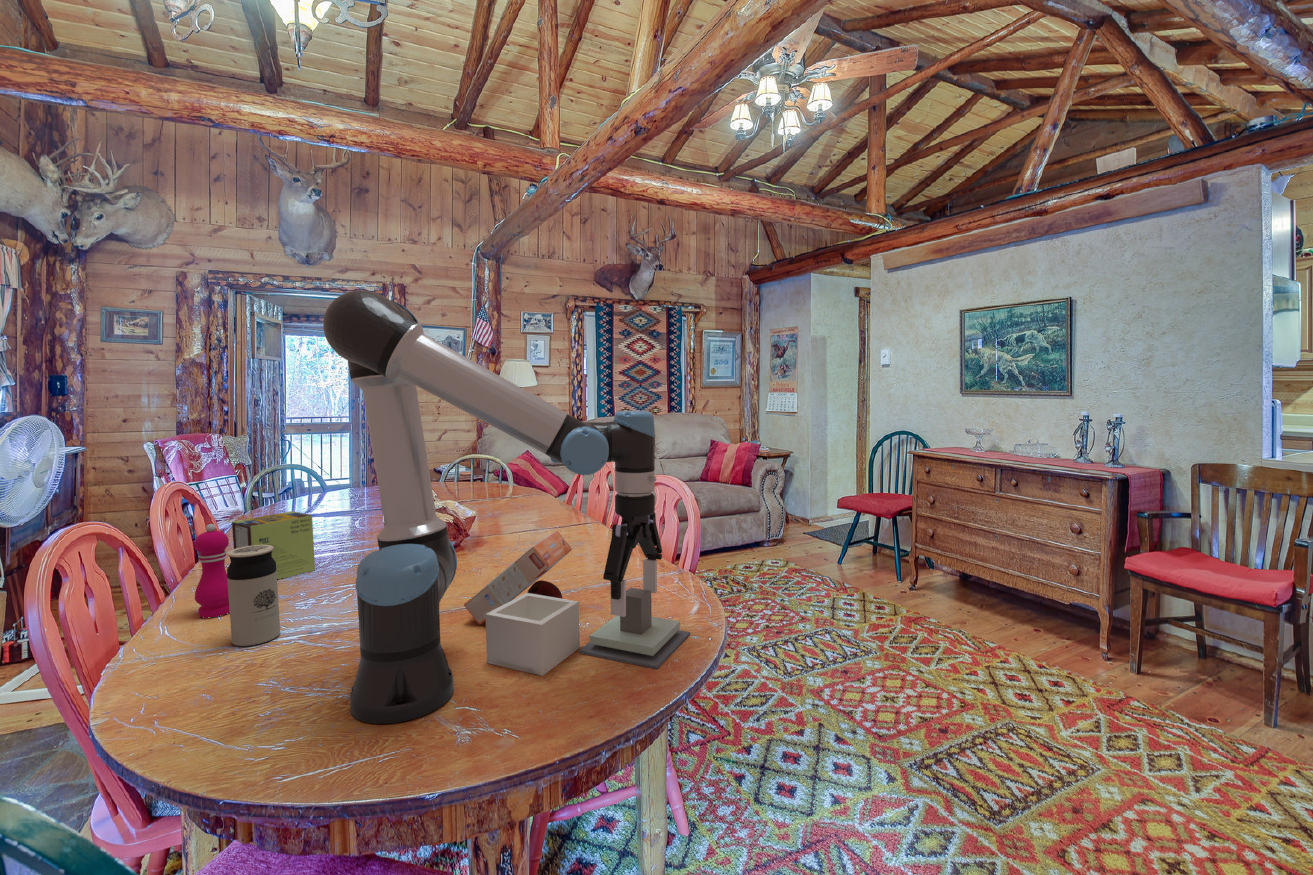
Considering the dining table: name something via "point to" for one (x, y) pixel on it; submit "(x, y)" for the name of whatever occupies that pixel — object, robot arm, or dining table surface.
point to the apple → (545, 589)
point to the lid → (636, 627)
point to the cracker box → (518, 576)
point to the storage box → (532, 633)
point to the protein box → (280, 540)
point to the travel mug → (253, 595)
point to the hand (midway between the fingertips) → (635, 602)
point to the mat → (635, 657)
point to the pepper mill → (212, 573)
